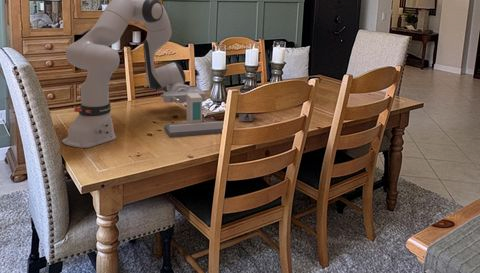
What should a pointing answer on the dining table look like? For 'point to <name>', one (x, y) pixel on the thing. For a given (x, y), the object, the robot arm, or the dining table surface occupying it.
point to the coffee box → (246, 116)
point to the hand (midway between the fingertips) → (187, 100)
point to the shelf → (193, 128)
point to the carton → (194, 108)
